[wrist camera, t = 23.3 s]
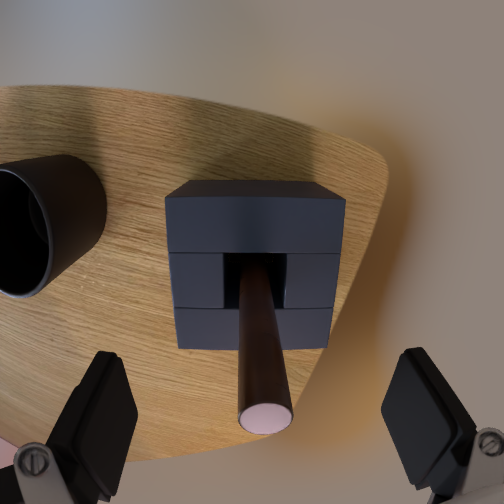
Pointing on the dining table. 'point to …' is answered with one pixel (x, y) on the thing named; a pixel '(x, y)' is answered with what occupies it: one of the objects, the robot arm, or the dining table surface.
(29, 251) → the mug
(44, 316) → the dining table surface
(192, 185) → the holder
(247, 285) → the stick
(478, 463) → the robot arm
